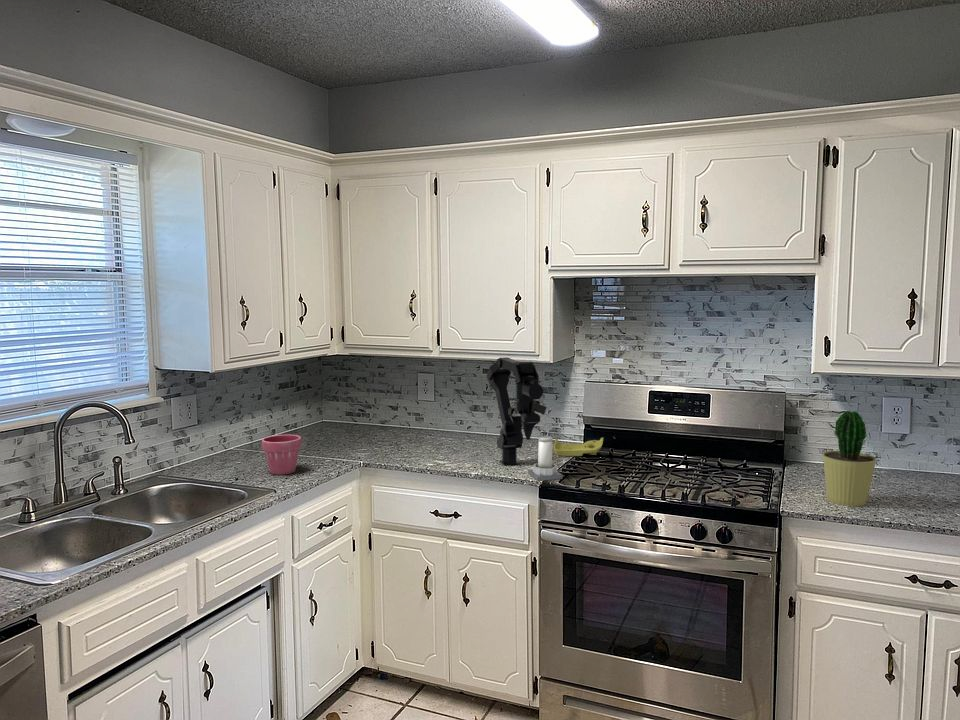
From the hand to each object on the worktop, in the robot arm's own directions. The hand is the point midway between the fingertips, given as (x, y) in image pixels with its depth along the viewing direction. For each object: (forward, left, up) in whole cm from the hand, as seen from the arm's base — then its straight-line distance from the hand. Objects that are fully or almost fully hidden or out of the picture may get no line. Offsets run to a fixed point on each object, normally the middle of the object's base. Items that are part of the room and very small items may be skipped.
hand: (523, 437), depth 268 cm
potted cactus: (+65, +87, -13) cm, 109 cm away
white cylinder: (+9, +5, -12) cm, 15 cm away
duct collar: (+9, +5, -13) cm, 17 cm away
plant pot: (-26, -86, -13) cm, 91 cm away
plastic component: (-19, +31, -13) cm, 38 cm away
